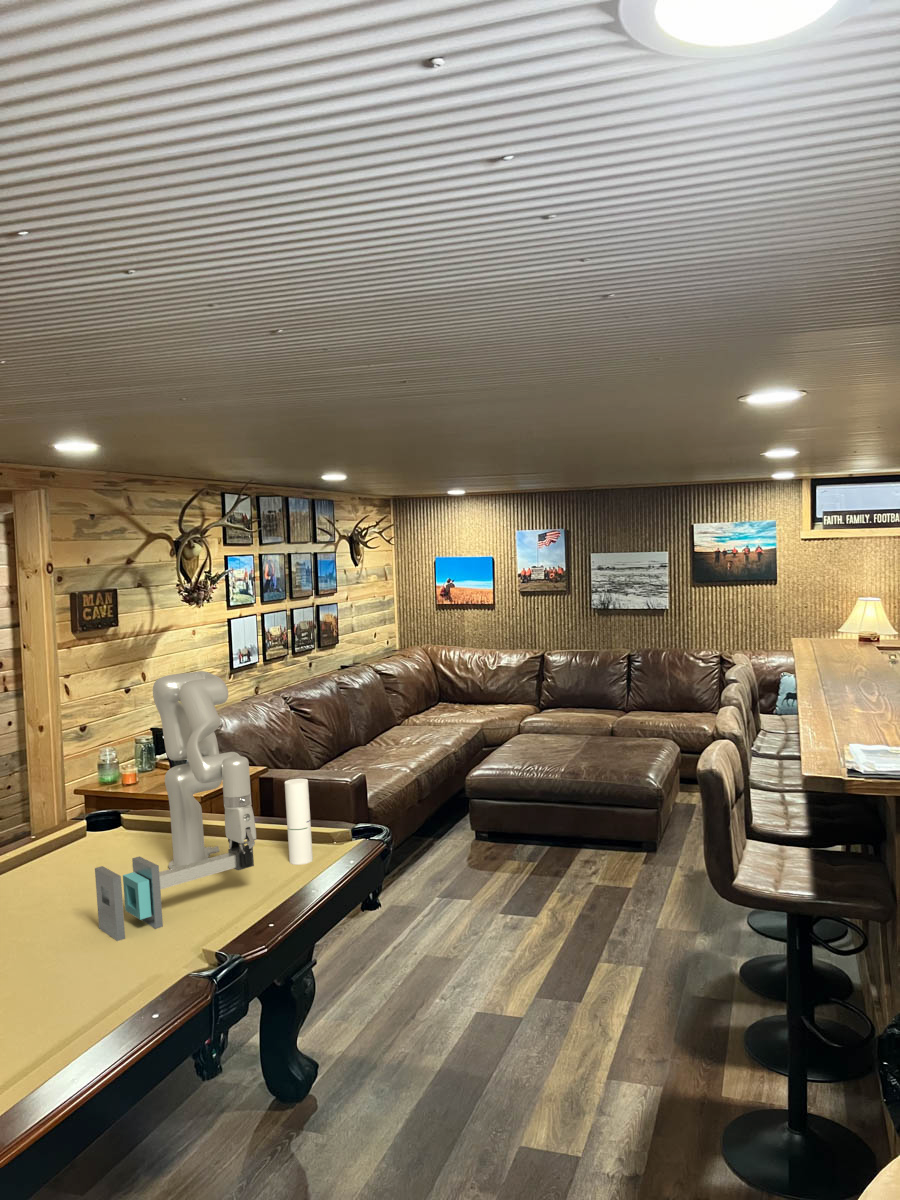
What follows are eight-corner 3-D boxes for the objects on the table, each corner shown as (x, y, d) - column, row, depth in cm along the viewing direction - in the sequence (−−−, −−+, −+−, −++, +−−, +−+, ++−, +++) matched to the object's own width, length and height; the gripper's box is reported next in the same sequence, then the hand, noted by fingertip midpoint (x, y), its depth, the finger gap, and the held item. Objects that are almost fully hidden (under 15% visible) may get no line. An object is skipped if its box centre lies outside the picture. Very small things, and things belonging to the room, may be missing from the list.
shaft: (245, 862, 264) (244, 845, 264) (253, 865, 261) (252, 848, 260) (140, 892, 244) (139, 873, 244) (148, 896, 240) (147, 877, 240)
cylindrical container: (317, 858, 289) (312, 779, 288) (304, 865, 282) (299, 784, 281) (298, 856, 292) (293, 778, 291) (285, 863, 285) (279, 783, 284)
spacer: (136, 907, 245) (133, 872, 245) (151, 916, 238) (148, 880, 238) (125, 910, 243) (122, 875, 243) (140, 919, 236) (137, 883, 236)
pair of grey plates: (143, 915, 248) (139, 856, 247) (162, 926, 239) (158, 865, 238) (99, 928, 240) (94, 868, 239) (117, 941, 231) (112, 878, 230)
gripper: (264, 803, 256) (268, 867, 257) (234, 793, 269) (238, 855, 270) (240, 808, 251) (244, 874, 252) (211, 799, 264) (215, 861, 265)
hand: (241, 863), depth 261 cm, fingers closed on shaft, 5 cm apart
